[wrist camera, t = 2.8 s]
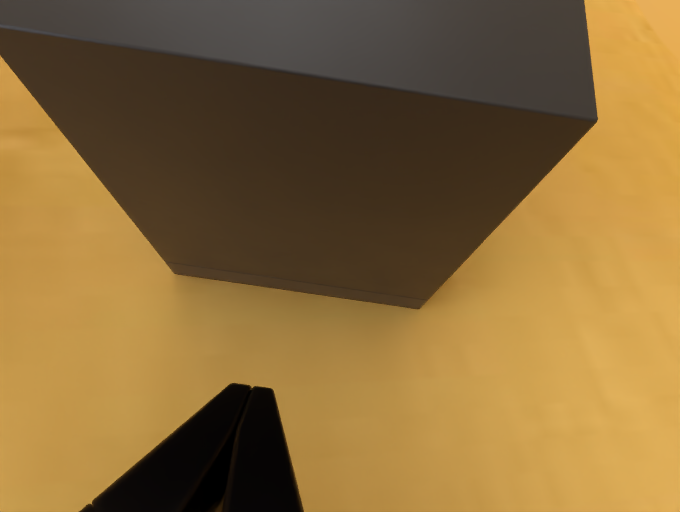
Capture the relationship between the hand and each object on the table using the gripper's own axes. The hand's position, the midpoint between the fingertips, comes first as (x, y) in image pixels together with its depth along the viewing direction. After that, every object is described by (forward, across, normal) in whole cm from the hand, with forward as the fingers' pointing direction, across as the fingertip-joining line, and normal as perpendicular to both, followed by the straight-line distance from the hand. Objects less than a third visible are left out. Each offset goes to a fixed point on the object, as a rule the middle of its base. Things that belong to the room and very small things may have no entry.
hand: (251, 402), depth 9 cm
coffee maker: (+16, 0, -2) cm, 16 cm away
